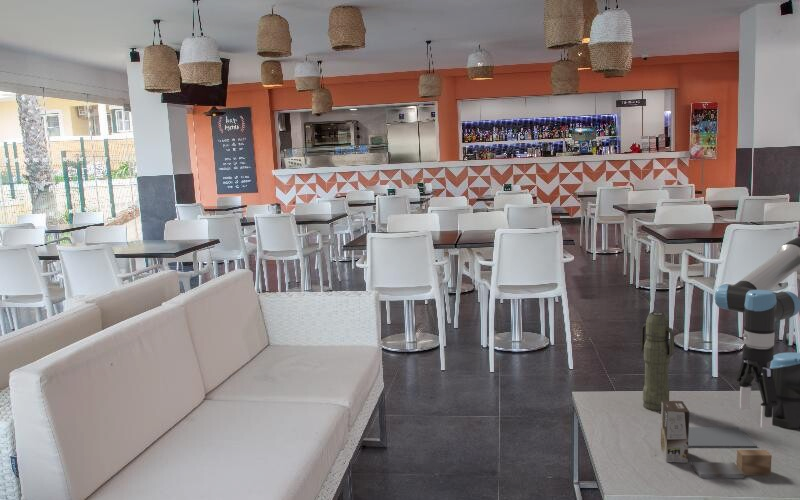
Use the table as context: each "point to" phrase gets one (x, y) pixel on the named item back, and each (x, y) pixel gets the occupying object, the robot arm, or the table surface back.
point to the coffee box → (674, 431)
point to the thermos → (656, 359)
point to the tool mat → (718, 437)
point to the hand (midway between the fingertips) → (755, 417)
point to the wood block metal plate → (746, 465)
